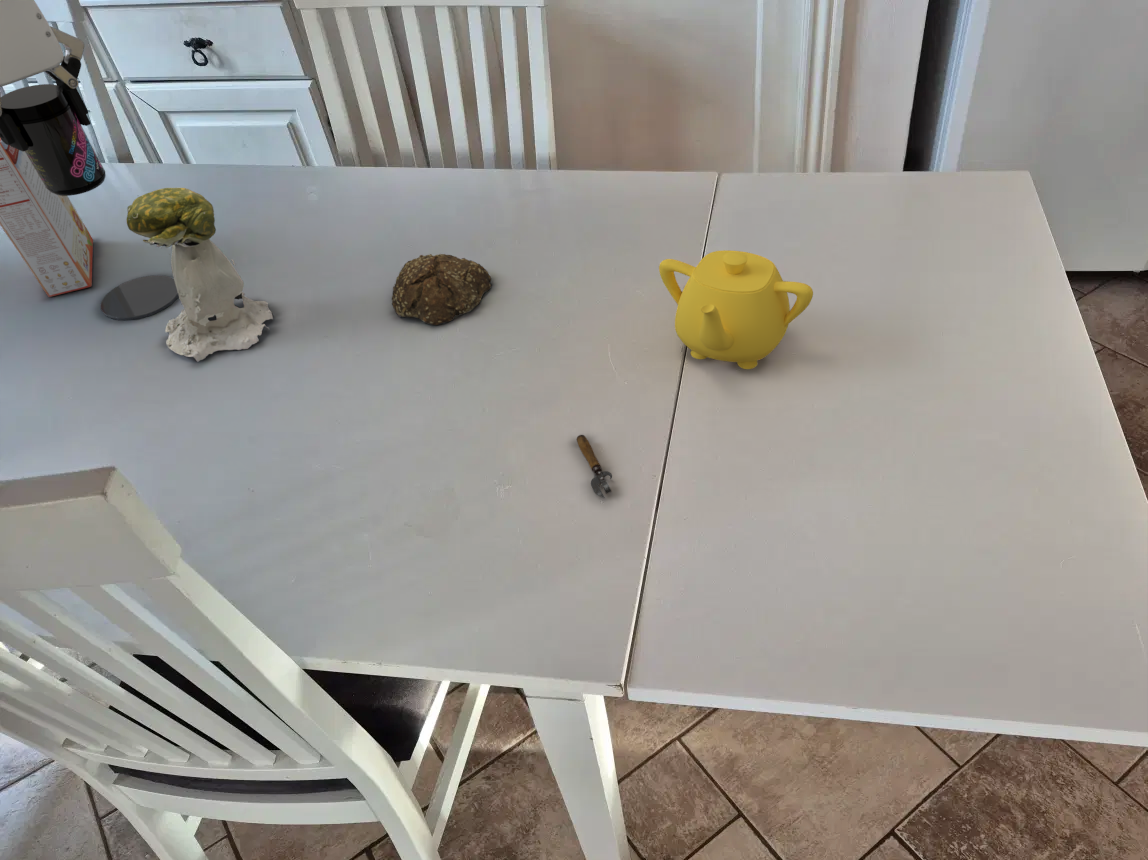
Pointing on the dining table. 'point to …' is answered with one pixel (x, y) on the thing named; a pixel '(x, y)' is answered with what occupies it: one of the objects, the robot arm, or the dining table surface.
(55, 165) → the supplement container
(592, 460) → the can opener
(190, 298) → the frog
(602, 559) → the dining table surface
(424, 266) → the bread roll
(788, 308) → the teapot
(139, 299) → the coaster
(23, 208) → the cracker box
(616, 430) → the dining table surface
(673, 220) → the dining table surface
